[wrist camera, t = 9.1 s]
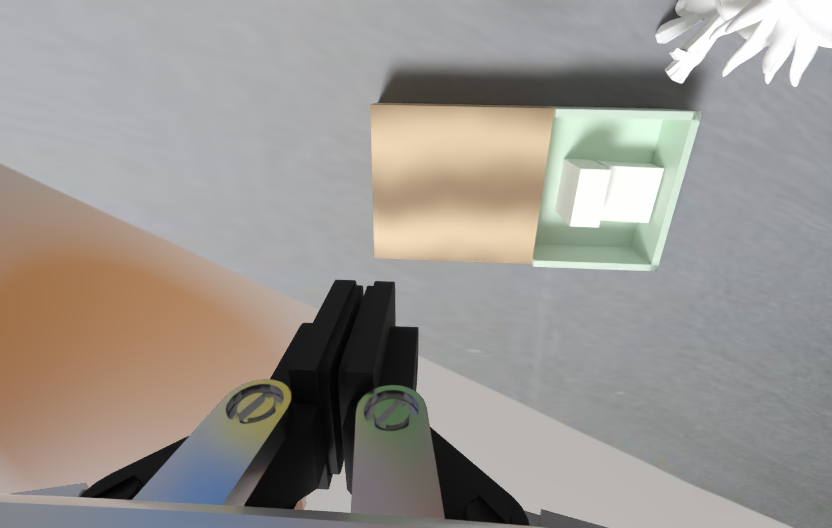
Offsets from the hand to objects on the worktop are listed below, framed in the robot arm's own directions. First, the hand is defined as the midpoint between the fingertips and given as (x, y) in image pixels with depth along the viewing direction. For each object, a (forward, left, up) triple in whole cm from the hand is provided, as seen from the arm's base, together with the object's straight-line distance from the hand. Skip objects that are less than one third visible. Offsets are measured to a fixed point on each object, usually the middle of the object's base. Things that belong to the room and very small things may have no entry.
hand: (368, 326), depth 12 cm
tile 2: (+1, +16, -20) cm, 25 cm away
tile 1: (0, +11, -20) cm, 22 cm away
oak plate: (0, +3, -22) cm, 22 cm away
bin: (0, +14, -22) cm, 26 cm away
